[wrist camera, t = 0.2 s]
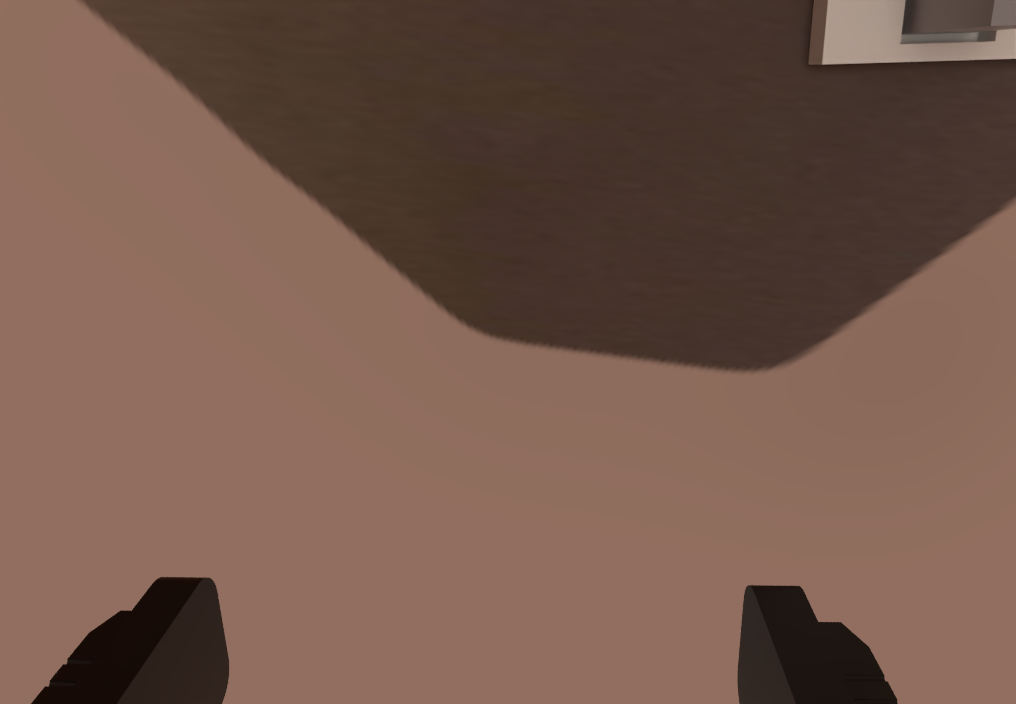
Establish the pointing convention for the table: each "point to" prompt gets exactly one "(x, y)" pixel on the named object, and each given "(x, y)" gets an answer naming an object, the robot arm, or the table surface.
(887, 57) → the fuse holder
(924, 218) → the table surface
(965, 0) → the block
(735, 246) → the table surface
